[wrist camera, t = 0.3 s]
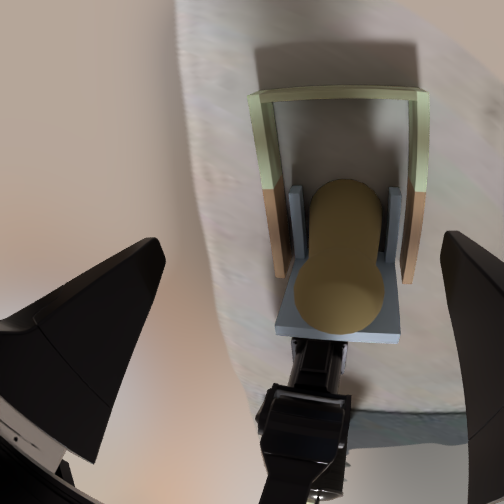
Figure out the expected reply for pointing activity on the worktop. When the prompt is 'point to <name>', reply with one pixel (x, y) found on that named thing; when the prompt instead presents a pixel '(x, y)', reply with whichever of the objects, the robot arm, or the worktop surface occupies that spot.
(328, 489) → the drinking cup
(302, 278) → the cork
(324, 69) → the worktop surface
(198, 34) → the worktop surface
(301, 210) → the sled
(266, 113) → the track
